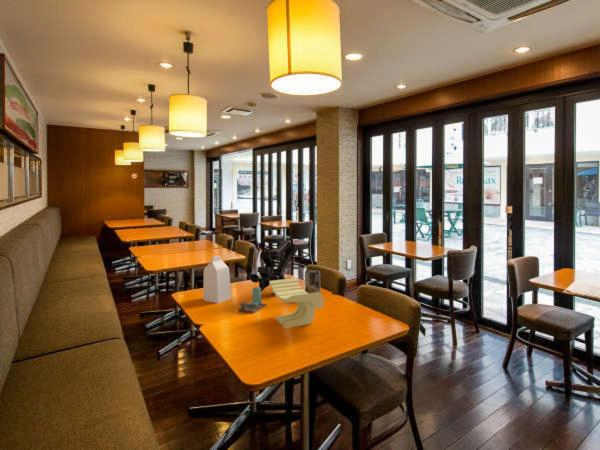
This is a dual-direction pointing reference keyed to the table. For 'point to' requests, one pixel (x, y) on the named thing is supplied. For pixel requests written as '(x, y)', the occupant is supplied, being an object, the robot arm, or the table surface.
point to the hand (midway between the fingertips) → (260, 291)
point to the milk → (216, 281)
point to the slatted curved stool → (294, 293)
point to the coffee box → (312, 281)
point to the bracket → (253, 308)
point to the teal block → (256, 296)
